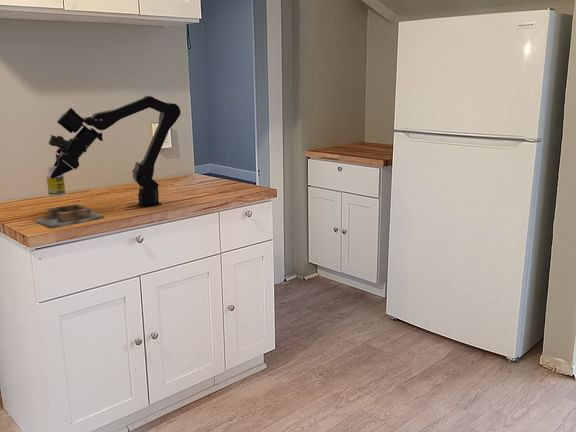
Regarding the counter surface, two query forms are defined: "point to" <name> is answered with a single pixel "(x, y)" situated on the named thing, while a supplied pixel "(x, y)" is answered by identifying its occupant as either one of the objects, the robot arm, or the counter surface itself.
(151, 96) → the robot arm
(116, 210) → the counter surface
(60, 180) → the supplement bottle
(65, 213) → the pocket
